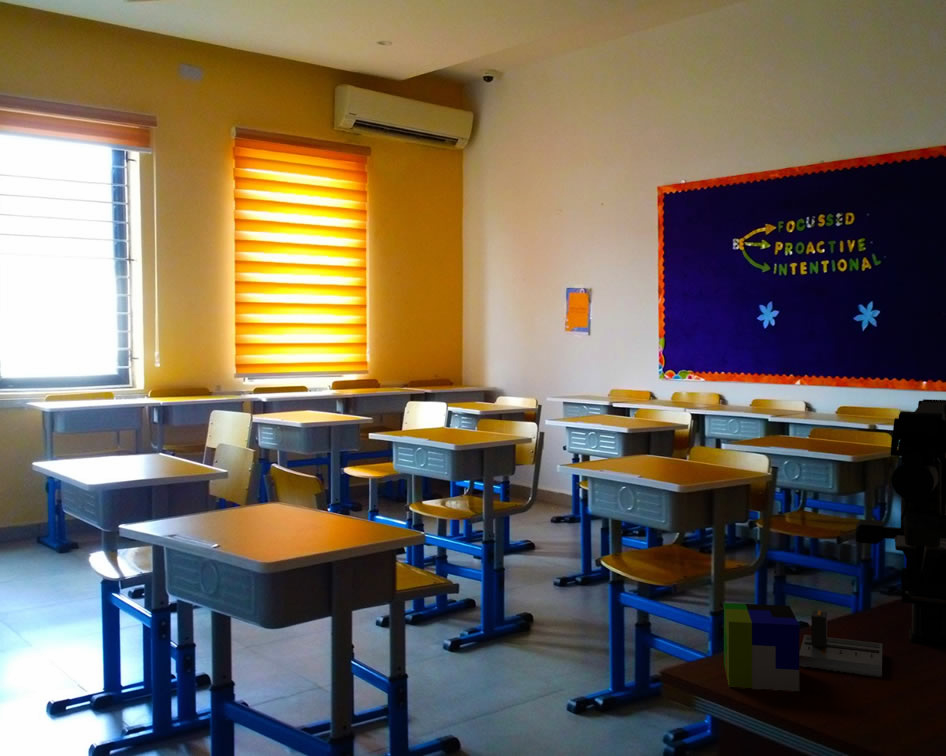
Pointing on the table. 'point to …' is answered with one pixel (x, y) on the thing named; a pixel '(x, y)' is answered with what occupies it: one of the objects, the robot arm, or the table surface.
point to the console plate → (843, 656)
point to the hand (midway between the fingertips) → (920, 589)
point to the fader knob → (819, 628)
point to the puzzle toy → (761, 646)
